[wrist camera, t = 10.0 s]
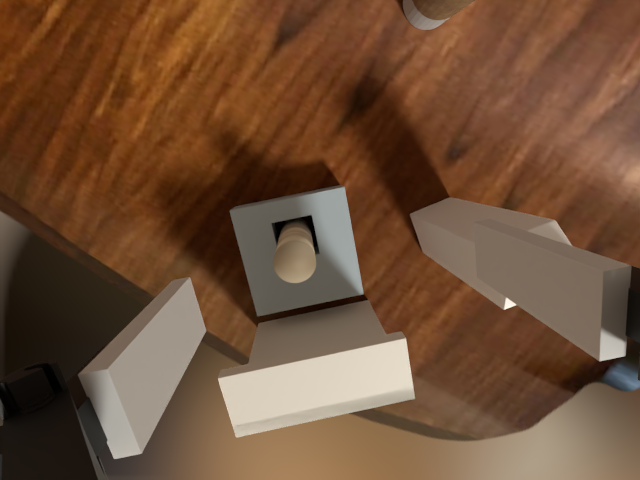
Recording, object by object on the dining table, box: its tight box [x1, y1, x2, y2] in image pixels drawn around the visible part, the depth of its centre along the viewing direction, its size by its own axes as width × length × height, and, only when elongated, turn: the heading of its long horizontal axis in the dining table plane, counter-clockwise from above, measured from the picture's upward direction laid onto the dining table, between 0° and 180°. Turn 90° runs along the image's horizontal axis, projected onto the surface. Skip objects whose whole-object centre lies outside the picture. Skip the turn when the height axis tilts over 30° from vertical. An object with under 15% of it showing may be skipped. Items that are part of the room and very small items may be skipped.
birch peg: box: [273, 218, 316, 283], centre depth 38 cm, size 4×4×14 cm
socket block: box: [229, 185, 363, 317], centre depth 43 cm, size 14×14×4 cm
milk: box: [410, 197, 572, 310], centre depth 35 cm, size 6×6×22 cm
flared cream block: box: [218, 300, 415, 437], centre depth 37 cm, size 6×16×19 cm, turn 101°
